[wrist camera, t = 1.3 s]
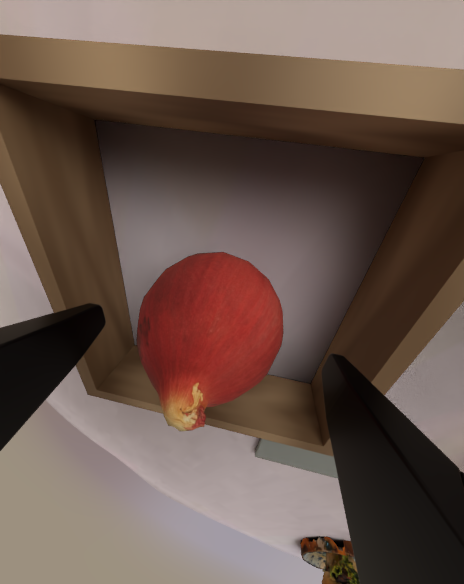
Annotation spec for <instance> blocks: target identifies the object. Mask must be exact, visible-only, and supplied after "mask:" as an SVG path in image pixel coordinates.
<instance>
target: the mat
mask: <svg viewBox="0 0 464 584" xmlns="http://www.w3.org/2000/svg"><path fill="white" fill-rule="evenodd" d="M255 457H258V458H262V459H266V460H269V461H273V462H277V463H281V464H285V465H288V466H292V467H296V468H300V469H304V470H307V471H311V472H315V473H319V474H323V475H326V476H330V477H334V478H338V475H337V470H336V465H335V460H334V456H333V457H332V456H328V455H324V454H320V453H316V452H312V451H309V450H305V449H301V448H297V447H293V446H289V445H285V444H281V443H277V442H273V441H269V440H265V439H261V438H260V440H259V443H258V445H257V448H256V451H255Z"/></svg>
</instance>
